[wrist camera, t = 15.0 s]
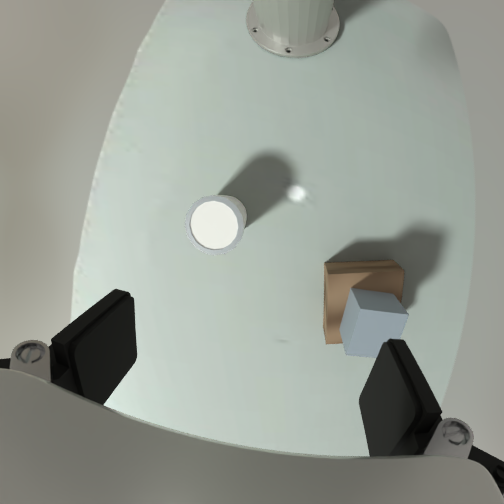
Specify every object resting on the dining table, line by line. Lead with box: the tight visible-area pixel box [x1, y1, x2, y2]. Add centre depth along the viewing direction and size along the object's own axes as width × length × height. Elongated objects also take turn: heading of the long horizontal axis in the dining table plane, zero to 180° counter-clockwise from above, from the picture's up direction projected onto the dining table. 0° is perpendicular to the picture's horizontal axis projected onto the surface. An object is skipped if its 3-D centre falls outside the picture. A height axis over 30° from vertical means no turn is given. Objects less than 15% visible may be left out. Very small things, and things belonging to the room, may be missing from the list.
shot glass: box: [185, 195, 247, 255], centre depth 37 cm, size 7×7×7 cm
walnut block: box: [323, 260, 404, 344], centre depth 39 cm, size 10×10×5 cm
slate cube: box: [339, 288, 409, 358], centre depth 33 cm, size 6×6×6 cm
